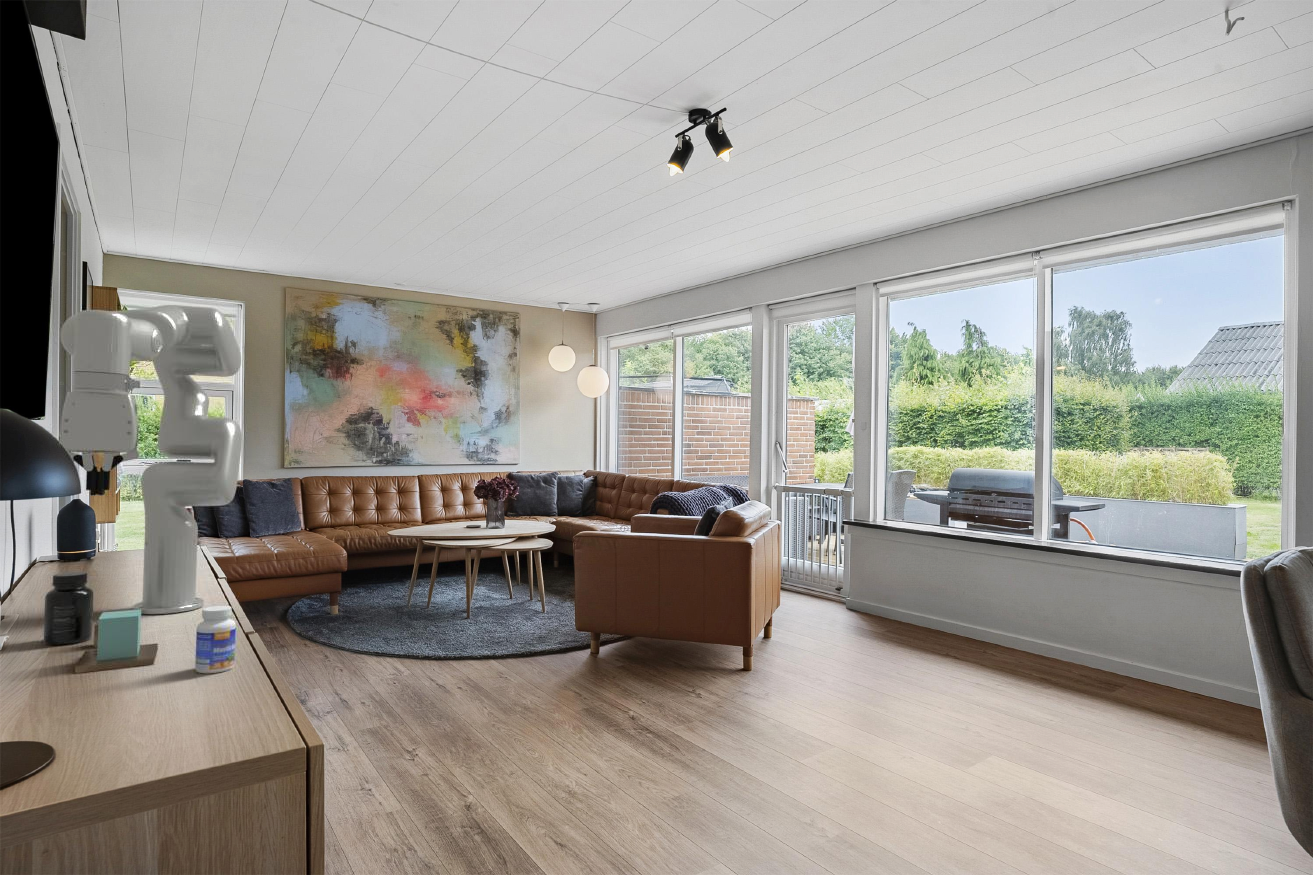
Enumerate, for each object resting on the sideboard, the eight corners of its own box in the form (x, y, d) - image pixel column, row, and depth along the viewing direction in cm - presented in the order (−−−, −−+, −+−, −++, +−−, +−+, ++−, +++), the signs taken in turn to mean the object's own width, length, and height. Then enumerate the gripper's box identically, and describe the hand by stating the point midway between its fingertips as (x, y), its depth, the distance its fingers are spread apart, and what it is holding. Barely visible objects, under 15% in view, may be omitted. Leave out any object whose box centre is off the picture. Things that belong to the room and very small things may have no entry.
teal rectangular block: (101, 652, 119) (102, 612, 119) (139, 648, 121) (141, 609, 121) (97, 660, 114) (98, 619, 114) (137, 656, 117) (138, 615, 117)
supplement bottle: (102, 636, 131) (104, 571, 132) (68, 646, 125) (70, 578, 125) (68, 634, 132) (70, 569, 132) (32, 644, 125) (34, 576, 125)
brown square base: (85, 656, 119) (86, 614, 119) (157, 648, 125) (159, 608, 125) (75, 673, 111) (76, 627, 111) (153, 664, 116) (155, 621, 116)
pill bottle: (215, 675, 111) (218, 612, 112) (186, 672, 112) (188, 610, 113) (242, 665, 117) (244, 605, 117) (214, 662, 118) (216, 603, 118)
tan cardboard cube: (96, 643, 127) (96, 621, 127) (117, 641, 128) (118, 619, 128) (93, 647, 124) (94, 624, 124) (115, 645, 126) (115, 622, 126)
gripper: (157, 389, 127) (153, 492, 127) (48, 383, 119) (44, 493, 119) (154, 386, 120) (150, 495, 120) (38, 380, 113) (34, 497, 112)
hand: (97, 494), depth 119 cm, fingers closed
